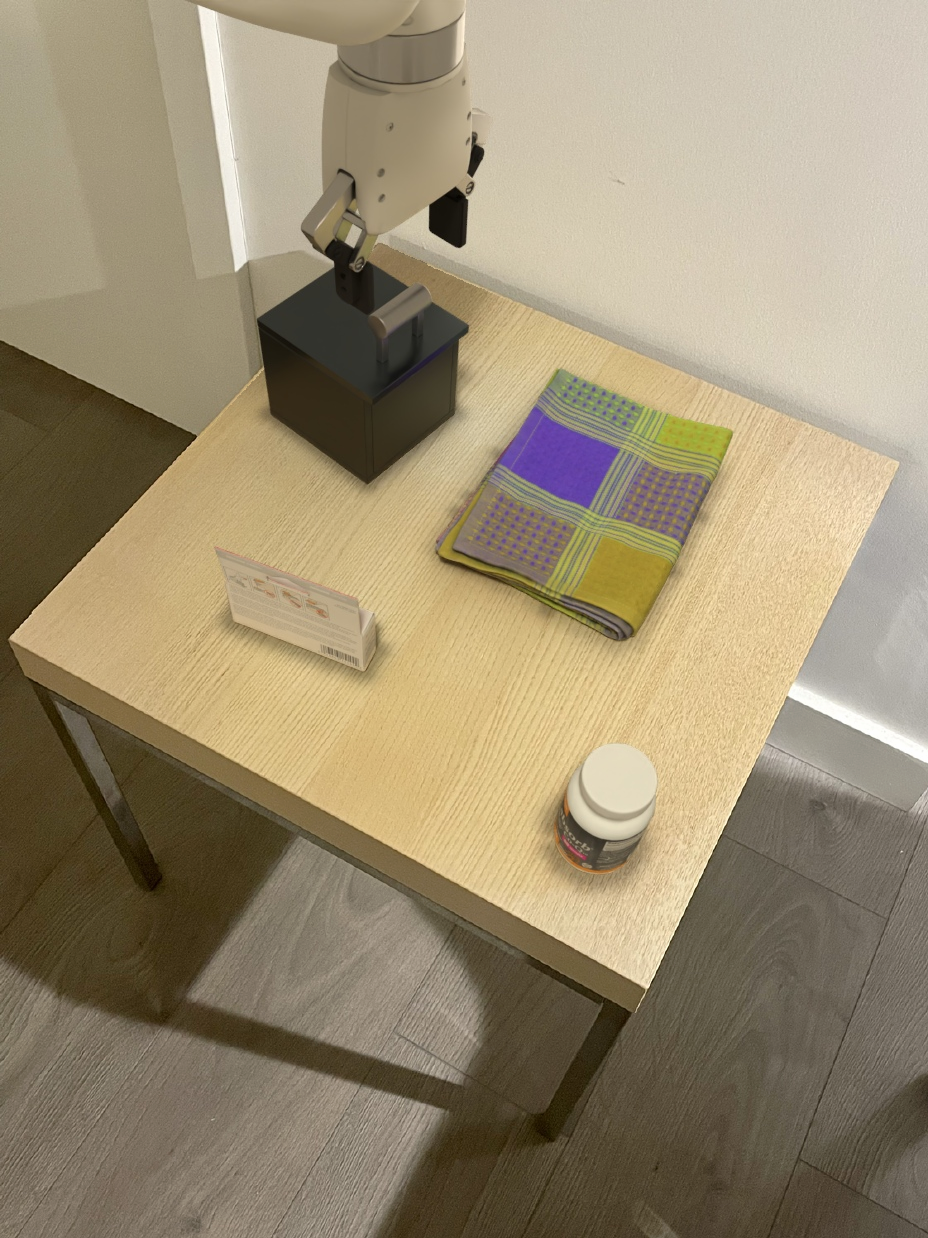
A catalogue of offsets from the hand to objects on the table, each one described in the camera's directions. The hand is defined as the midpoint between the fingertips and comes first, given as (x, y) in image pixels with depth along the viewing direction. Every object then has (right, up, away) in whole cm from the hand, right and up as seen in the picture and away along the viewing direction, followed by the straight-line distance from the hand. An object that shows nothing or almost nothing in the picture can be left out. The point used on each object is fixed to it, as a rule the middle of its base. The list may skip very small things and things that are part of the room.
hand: (402, 270), depth 77 cm
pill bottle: (+13, -40, -4) cm, 43 cm away
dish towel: (+15, -16, +12) cm, 25 cm away
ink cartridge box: (-8, -27, +4) cm, 28 cm away
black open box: (-4, -7, +16) cm, 18 cm away
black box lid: (-4, -2, +8) cm, 9 cm away
